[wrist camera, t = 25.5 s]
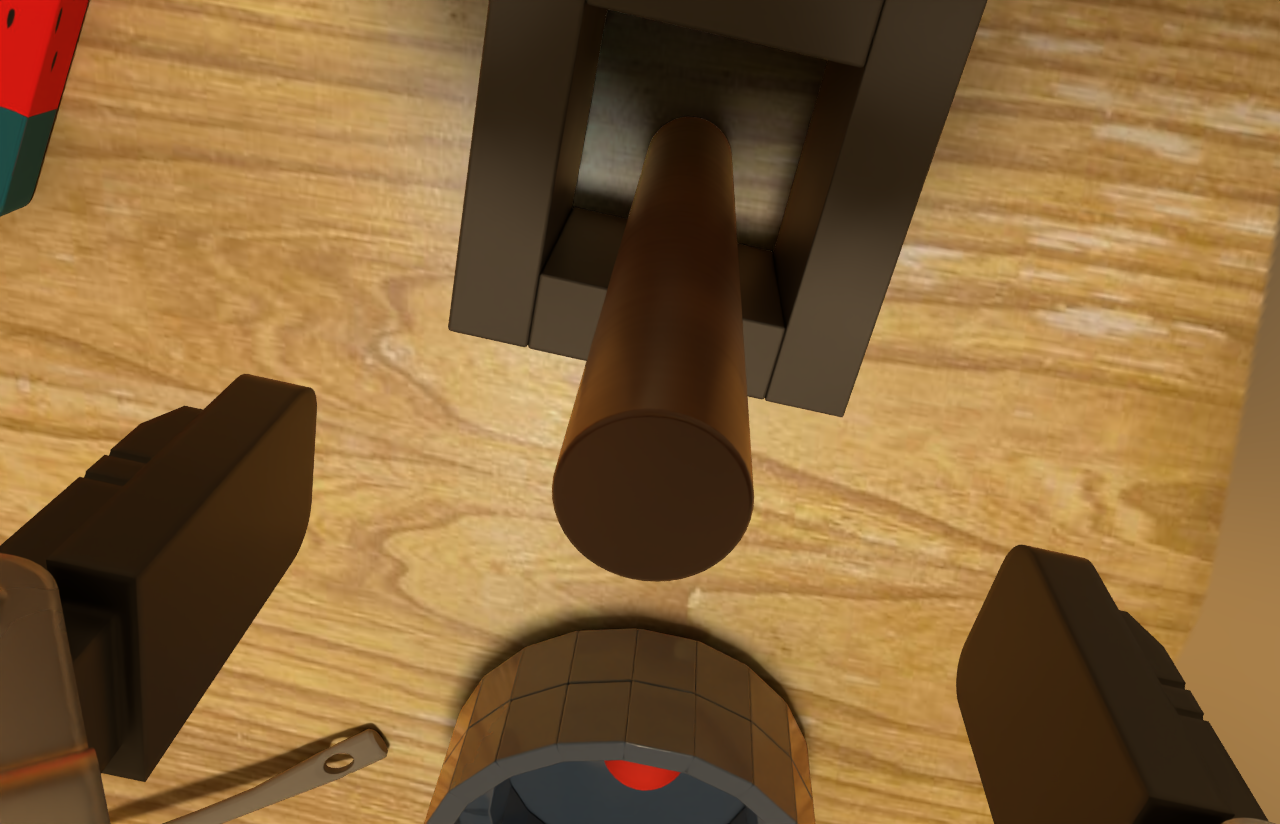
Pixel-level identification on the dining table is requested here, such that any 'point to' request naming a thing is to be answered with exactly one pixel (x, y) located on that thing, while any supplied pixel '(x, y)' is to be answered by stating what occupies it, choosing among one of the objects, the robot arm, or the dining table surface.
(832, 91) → the holder
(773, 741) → the dark grey round dish
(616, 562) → the stick
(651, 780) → the bead
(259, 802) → the ladle
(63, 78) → the popsicle
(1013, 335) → the dining table surface
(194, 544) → the robot arm
